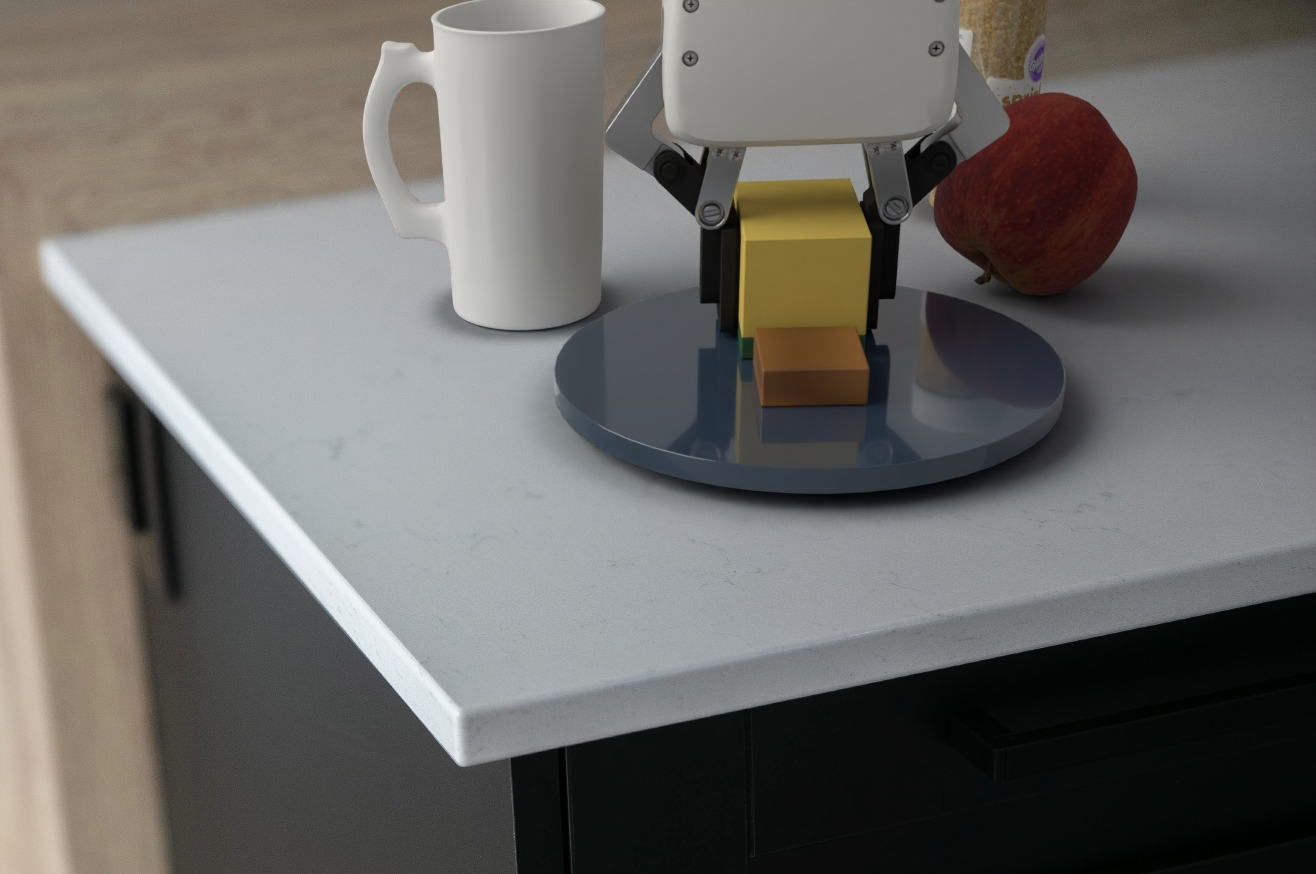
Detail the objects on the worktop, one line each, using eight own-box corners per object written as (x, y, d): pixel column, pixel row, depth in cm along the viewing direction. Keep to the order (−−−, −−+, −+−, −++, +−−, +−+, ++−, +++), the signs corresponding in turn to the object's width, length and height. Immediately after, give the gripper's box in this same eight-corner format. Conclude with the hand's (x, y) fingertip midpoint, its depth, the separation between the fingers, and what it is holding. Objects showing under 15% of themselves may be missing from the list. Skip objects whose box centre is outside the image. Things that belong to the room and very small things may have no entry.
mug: (621, 281, 80) (619, -6, 74) (591, 337, 75) (587, 32, 69) (397, 273, 83) (379, -4, 77) (353, 327, 77) (329, 32, 72)
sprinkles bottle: (1025, 226, 83) (1059, -91, 77) (920, 220, 85) (945, -91, 78) (1033, 195, 87) (1067, -110, 80) (933, 190, 88) (957, -109, 82)
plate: (1008, 308, 75) (1012, 272, 74) (1115, 507, 59) (1121, 464, 58) (559, 319, 77) (558, 284, 76) (548, 514, 61) (547, 473, 61)
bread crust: (854, 361, 67) (856, 325, 66) (867, 406, 64) (870, 367, 63) (752, 363, 67) (754, 327, 67) (760, 407, 64) (762, 369, 63)
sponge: (730, 292, 74) (733, 181, 72) (843, 290, 73) (850, 177, 71) (741, 359, 68) (744, 239, 66) (864, 356, 67) (872, 236, 65)
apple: (1143, 321, 73) (1173, 116, 69) (938, 324, 74) (956, 123, 70) (1104, 258, 79) (1129, 68, 75) (916, 262, 80) (931, 74, 76)
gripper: (1058, -231, 64) (1006, 279, 73) (564, -203, 66) (573, 290, 75) (1108, -206, 57) (1044, 351, 66) (559, -176, 59) (569, 360, 68)
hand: (794, 313), depth 70 cm, fingers closed on sponge, 4 cm apart
